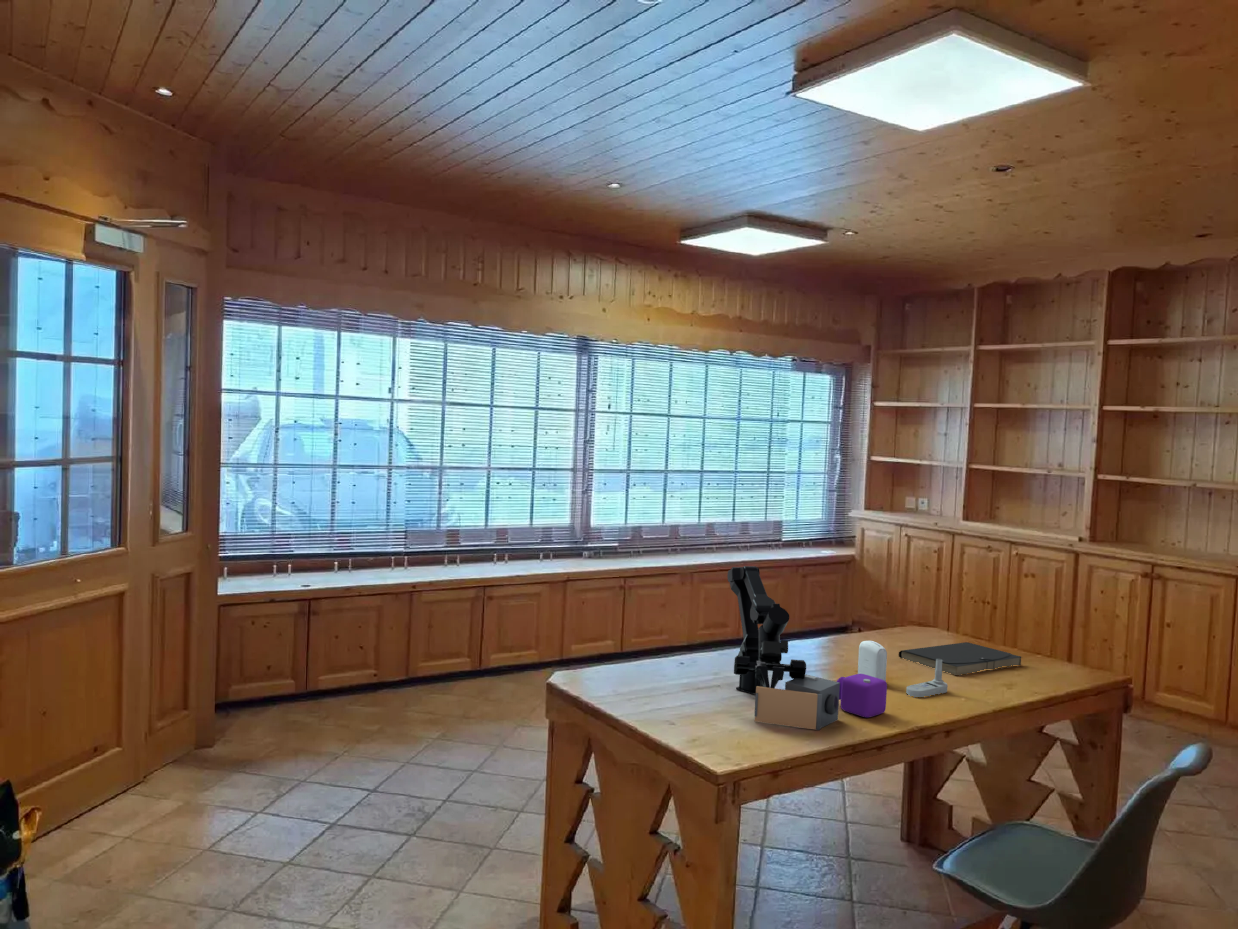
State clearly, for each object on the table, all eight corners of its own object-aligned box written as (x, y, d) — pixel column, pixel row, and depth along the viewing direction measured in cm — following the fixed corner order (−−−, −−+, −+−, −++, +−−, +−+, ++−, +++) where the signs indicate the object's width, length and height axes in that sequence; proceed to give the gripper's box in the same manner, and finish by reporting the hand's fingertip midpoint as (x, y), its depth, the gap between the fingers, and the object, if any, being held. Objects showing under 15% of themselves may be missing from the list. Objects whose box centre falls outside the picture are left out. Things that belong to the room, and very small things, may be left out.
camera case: (783, 719, 228) (785, 679, 228) (804, 710, 236) (806, 672, 236) (821, 730, 221) (824, 689, 220) (842, 721, 229) (844, 681, 228)
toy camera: (842, 700, 247) (844, 666, 246) (889, 712, 238) (891, 676, 238) (825, 709, 239) (827, 673, 238) (873, 721, 230) (875, 684, 229)
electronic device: (903, 663, 256) (937, 656, 263) (902, 695, 256) (936, 688, 264) (918, 667, 251) (952, 661, 259) (916, 701, 252) (950, 693, 259)
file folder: (957, 665, 277) (898, 648, 298) (956, 678, 277) (898, 660, 298) (1022, 655, 294) (962, 640, 315) (1022, 668, 294) (962, 651, 315)
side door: (754, 722, 224) (755, 687, 224) (754, 720, 226) (756, 686, 225) (819, 731, 220) (821, 696, 219) (820, 729, 221) (822, 694, 221)
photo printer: (855, 677, 272) (857, 638, 271) (866, 676, 273) (869, 637, 273) (875, 687, 262) (878, 646, 261) (887, 686, 263) (889, 645, 263)
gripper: (736, 625, 231) (735, 678, 221) (807, 630, 229) (809, 683, 219) (734, 647, 239) (733, 699, 229) (802, 652, 237) (805, 704, 227)
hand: (769, 696), depth 225 cm, fingers closed
